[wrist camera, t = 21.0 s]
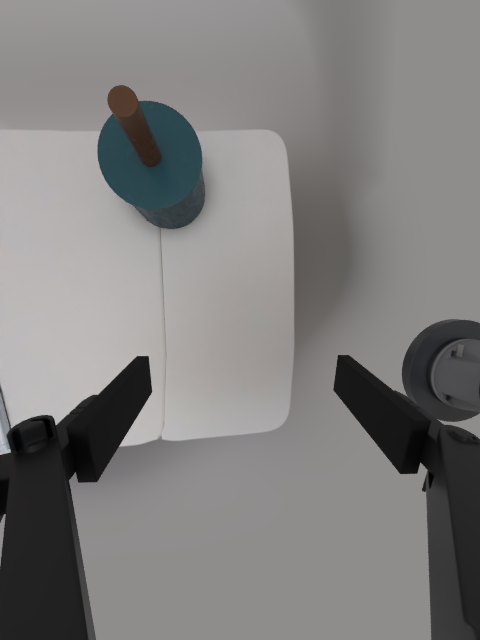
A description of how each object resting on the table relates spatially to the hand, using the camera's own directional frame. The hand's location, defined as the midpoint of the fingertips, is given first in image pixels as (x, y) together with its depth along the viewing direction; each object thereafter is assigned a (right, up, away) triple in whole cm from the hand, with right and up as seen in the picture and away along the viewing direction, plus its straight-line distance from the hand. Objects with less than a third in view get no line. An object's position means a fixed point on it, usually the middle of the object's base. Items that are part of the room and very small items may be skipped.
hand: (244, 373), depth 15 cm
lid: (-12, +25, +14) cm, 31 cm away
